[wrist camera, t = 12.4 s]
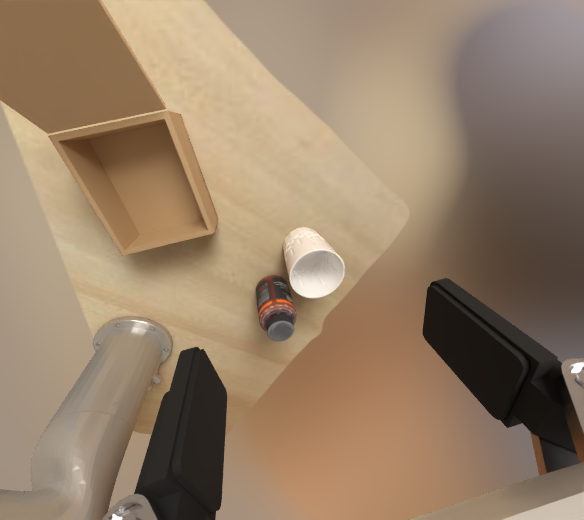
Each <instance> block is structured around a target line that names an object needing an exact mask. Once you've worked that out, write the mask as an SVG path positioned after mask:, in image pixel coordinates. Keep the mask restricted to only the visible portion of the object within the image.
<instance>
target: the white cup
mask: <svg viewBox="0 0 584 520" xmlns="http://www.w3.org/2000/svg"><path fill="white" fill-rule="evenodd" d="M283 250H284V257H285V263H286V268H287V272H288V276H289V280H290V284H291V287H292V288H293V290H294V291H295V292H296V293H297V294H299V295H300V296H303V297H306V298H320V297H324V296H326V295H328V294H330V293H332V292H333V291H334V290H335V289H337V287H338V286H339V285H340V284H341V282H342V280H343V278H344V274H345V265H344V262H343V260H342V259H341V257H340V256H339V255H338V254H337V253H336V252H335V251H334V249H333V248H332V247H331V246H330V245H329V244H328V243H327V242H326V241H325V240H324V239H323V238H322V237H321V236H319V235H318V234H317V232H316V231H315V230H313V229H310V228H307V227H304V228H297V229H295V230H293V231H292V232H290V233H289V234H288V236H287V237H286V238H285V240H284V245H283Z"/></svg>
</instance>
